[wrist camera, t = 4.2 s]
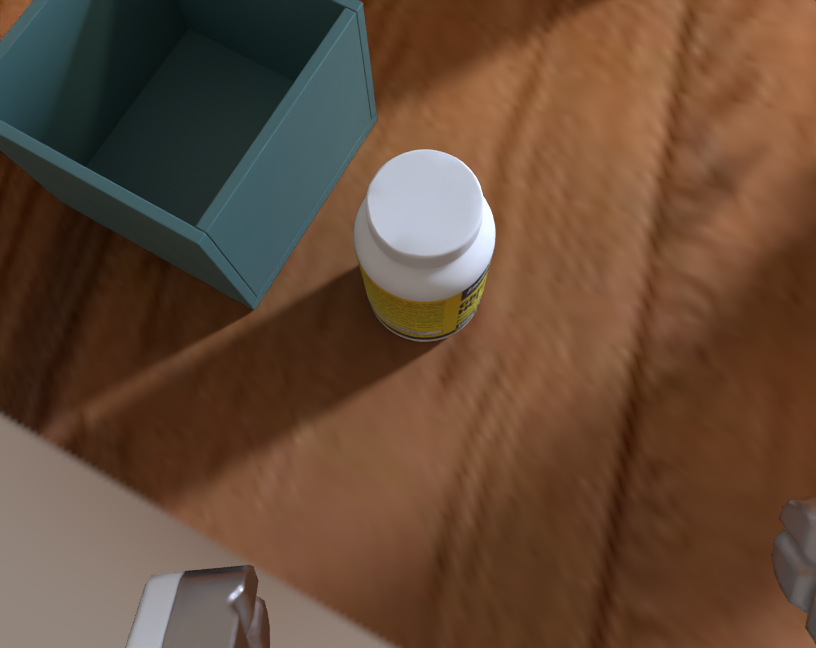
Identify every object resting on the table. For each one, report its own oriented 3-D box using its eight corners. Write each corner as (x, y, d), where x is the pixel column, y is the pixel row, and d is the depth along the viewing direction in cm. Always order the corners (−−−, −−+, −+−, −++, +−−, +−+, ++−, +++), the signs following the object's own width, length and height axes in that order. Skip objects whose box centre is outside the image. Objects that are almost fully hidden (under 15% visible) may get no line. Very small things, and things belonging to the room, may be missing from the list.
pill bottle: (474, 352, 37) (493, 288, 27) (359, 335, 38) (332, 266, 27) (488, 242, 39) (512, 141, 28) (377, 228, 39) (359, 122, 29)
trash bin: (190, 25, 43) (123, -112, 34) (377, 119, 41) (363, 2, 32) (59, 201, 40) (-53, 105, 31) (254, 311, 38) (198, 245, 29)
